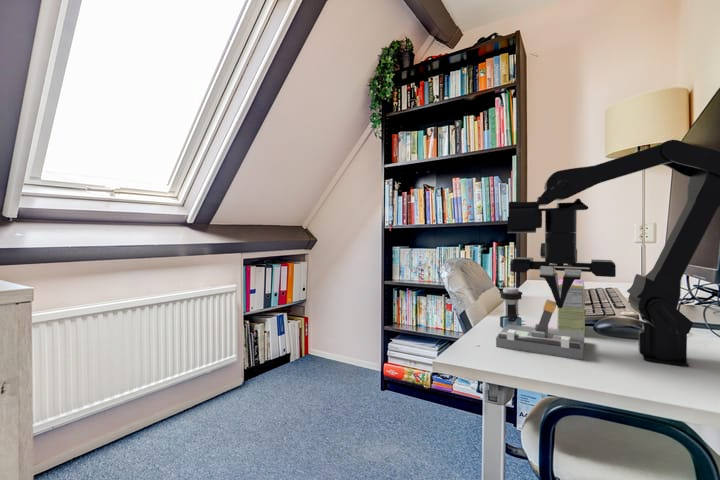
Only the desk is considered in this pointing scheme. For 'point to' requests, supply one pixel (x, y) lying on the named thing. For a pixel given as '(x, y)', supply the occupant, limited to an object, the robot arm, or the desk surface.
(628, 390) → the desk surface
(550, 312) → the lever
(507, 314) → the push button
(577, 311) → the box
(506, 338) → the breaker panel
